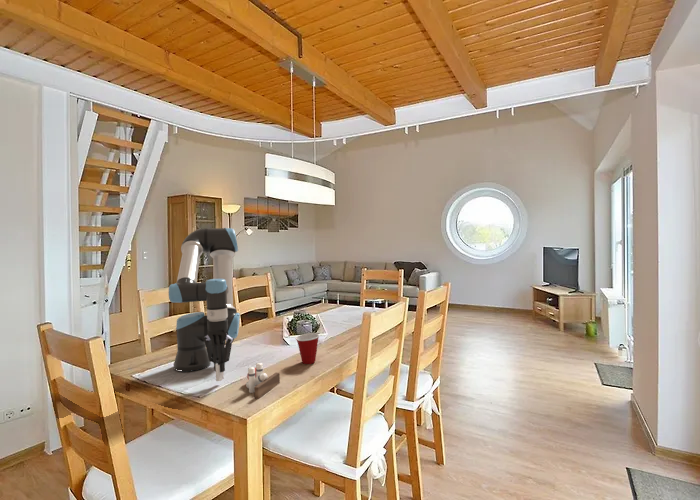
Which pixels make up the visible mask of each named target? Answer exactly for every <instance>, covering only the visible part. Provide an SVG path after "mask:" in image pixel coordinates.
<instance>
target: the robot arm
mask: <svg viewBox="0 0 700 500" xmlns="http://www.w3.org/2000/svg"><path fill="white" fill-rule="evenodd" d="M235 230H236V229H234V228H232V227H229V228H228V227H223V228H222V227H218V228H217V227H216V228H211V227H210V228H199V229H196V230H194V231H192V232H191V233H189V234H188V235H187V236H186V237H185V238H184V240H183V242H182V243H181V247H180V251H181V259H180V264H179V269H178V274H177V278H176V279H177V280H176V282H175V283H171V284H170V285H169V286H168V299H169V302H171V303H174V304H175V303H180V304H182V303H191V302H192V303H193V302H194V303H195V302H206V314H205V312H204V311H196V312H192V313H187V314H184V315H183V314H182V315H181V316H179V317H178V318H177V319H176V326H175V329H176V330H175V331H176V344H177V345H176V348H177V351H176V355H175V358H174V362H173V369H174V368H175V369H177V370H182V371H190V372H192V371H191V370H196V371H199V370H198V369H201V370H203V369H202V368H204V369H206V368H208V367H209V366H210V365H211V362H212V363H213V369H214V370H213V371H214V372H215V381H216V382H221V381H222V380H224V379H225V378H224V376H225V374H224V372H225V371H226V367H225V365H226V363H227V362H229V361H230V359H231V358H230V357H231V353H232V345H233V342H234V341H235V339H237V337H238V336H239V328H240V321H241V320H240V319H241V316H240V315H241V314H240V312H237V308H236V307H235V306H234V295H233V292H234V291H233V288H234V286H233V260H232V259H233V258H234V257H235V256H236V252H238V251H239V249H238V241H237V236H236V231H235ZM203 253H209V256H210V257H211V258H212V264H213V265H212V266H213V267H212V272H213V273H212V276H213V278H210V279H207V280H206V281H203V282H197V280H198V273H199V267H200V260H201V259H200V258H201V256H202V254H203ZM207 366H208V367H207ZM205 367H206V368H205Z"/></svg>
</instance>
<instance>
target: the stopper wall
mask: <svg viewBox="0 0 700 500" xmlns="http://www.w3.org/2000/svg"><path fill="white" fill-rule="evenodd" d="M280 379H281V377H280V372H274V373H273V374H272V375H270V376H268V377H267V379H265V380H264V381H263V382H261V383H260V384H258V385H256V386H255V387H254V390H255V392H254V399H257V400H260V399H261V398H262V397H263V396H265V395H266V394H267V393H269V392H270V391H271V390H272V389H274V388H275V387H277V386H278V385H280V383H281V381H280Z"/></svg>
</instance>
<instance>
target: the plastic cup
mask: <svg viewBox="0 0 700 500" xmlns="http://www.w3.org/2000/svg"><path fill="white" fill-rule="evenodd" d="M319 338H320V334H319V333H315V332H314V333H313V332H311V333H305V334H300V335H297V336H295V340H296V342H297V345H298V350H299V355H300V358H301V363H302V364H304V365H311V364H315V363H316V359H317V353H318V352H317V351H318V343H319Z"/></svg>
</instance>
